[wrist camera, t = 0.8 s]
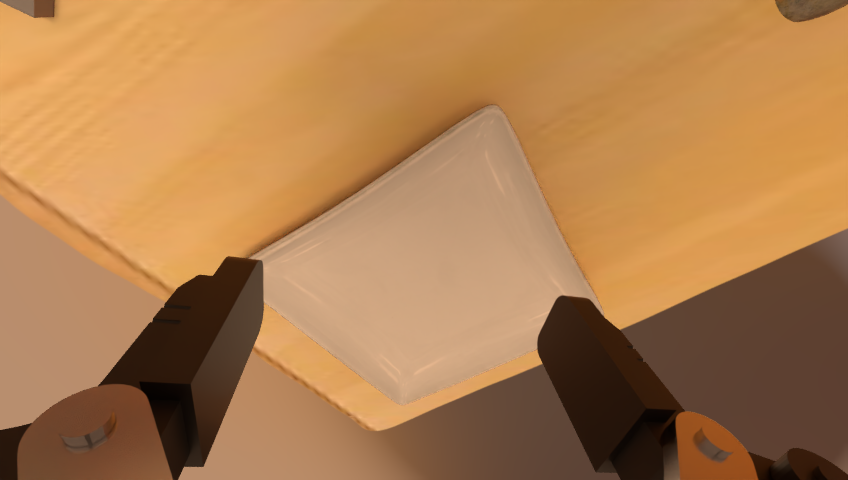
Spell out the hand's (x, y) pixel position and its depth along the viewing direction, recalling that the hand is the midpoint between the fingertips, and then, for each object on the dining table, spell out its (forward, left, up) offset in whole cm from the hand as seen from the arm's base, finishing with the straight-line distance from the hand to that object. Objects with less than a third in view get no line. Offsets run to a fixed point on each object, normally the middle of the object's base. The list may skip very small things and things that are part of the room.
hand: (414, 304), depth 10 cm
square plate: (+14, +11, -22) cm, 28 cm away
